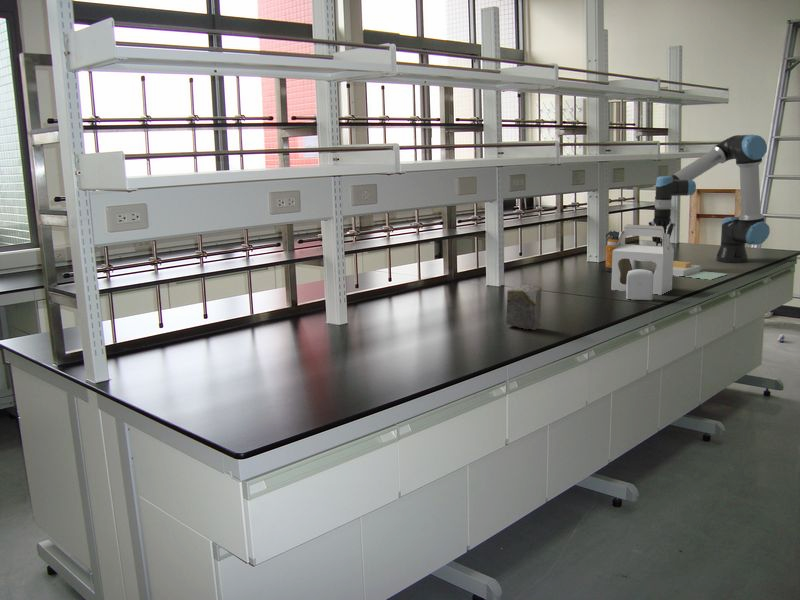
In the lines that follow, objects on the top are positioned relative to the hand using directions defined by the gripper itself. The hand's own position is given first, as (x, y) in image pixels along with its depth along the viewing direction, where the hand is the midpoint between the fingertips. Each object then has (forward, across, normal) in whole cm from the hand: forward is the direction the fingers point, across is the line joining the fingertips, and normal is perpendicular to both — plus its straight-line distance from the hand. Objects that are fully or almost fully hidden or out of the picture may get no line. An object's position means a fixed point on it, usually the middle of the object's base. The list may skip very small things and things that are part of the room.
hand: (659, 256), depth 359 cm
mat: (+7, +24, -1) cm, 25 cm away
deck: (+7, +10, -1) cm, 12 cm away
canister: (+7, -16, -16) cm, 23 cm away
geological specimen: (+8, +21, -136) cm, 138 cm away
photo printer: (+8, +27, -68) cm, 73 cm away
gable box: (+8, +18, -50) cm, 53 cm away
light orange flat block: (+4, +10, 0) cm, 11 cm away
